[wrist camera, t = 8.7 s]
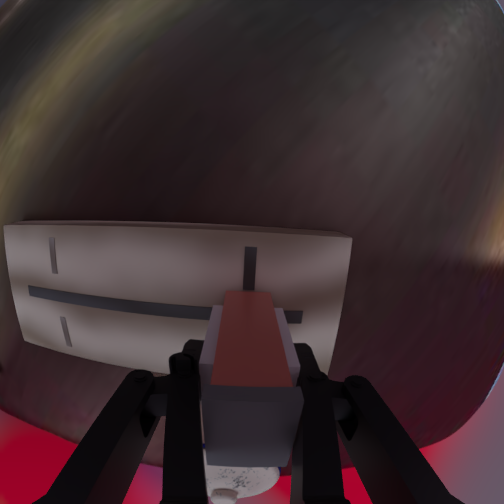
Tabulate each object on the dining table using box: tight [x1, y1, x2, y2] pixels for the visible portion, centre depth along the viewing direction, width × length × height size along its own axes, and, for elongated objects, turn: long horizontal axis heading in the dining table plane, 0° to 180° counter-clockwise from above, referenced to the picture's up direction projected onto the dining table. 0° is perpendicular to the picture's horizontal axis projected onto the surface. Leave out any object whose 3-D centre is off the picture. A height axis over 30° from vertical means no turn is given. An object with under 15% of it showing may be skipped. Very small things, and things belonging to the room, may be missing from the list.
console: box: [4, 220, 352, 375], centre depth 21 cm, size 12×30×3 cm, turn 87°
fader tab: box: [201, 290, 304, 467], centre depth 14 cm, size 4×3×11 cm
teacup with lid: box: [200, 403, 281, 504], centre depth 20 cm, size 12×9×12 cm
